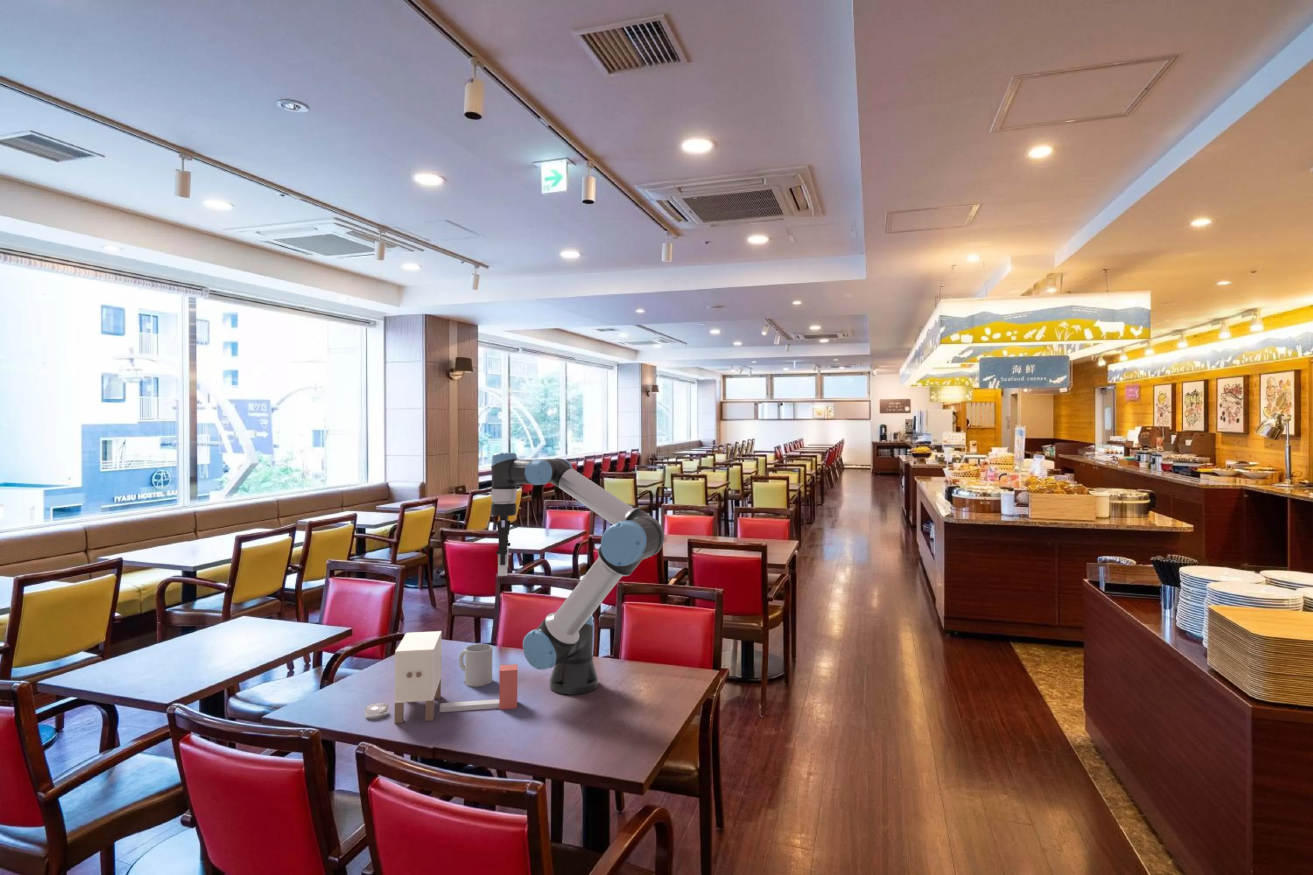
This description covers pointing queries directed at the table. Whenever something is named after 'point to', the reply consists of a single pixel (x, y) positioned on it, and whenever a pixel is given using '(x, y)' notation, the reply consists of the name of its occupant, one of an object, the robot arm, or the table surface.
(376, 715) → the token
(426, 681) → the cabinet
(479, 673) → the mug
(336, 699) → the table surface
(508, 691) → the red mallet
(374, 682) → the table surface
